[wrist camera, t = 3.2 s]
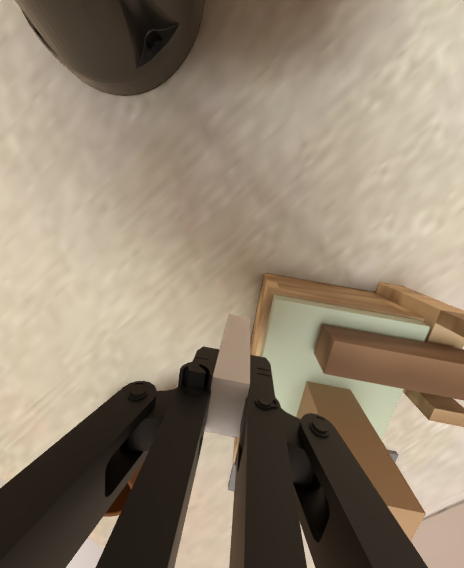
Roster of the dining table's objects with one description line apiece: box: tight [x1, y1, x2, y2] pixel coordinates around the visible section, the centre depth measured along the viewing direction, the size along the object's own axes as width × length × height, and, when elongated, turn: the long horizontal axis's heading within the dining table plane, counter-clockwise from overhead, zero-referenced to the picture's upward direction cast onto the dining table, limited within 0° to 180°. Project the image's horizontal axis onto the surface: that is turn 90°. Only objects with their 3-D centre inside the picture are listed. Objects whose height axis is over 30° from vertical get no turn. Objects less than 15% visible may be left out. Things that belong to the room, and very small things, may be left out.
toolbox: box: [233, 273, 464, 463], centre depth 21 cm, size 19×14×10 cm
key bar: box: [314, 324, 464, 400], centre depth 15 cm, size 3×12×3 cm, turn 81°
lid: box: [260, 295, 430, 541], centre depth 16 cm, size 18×11×10 cm, turn 171°
